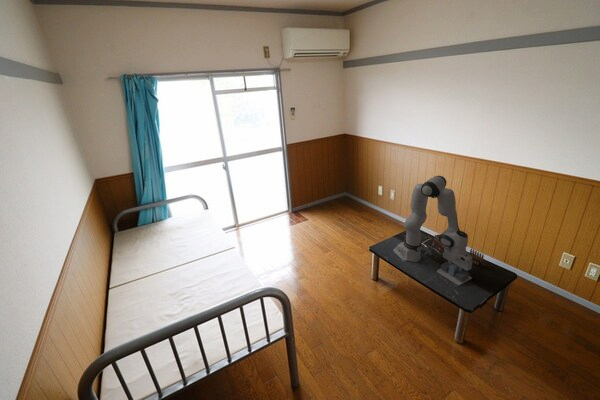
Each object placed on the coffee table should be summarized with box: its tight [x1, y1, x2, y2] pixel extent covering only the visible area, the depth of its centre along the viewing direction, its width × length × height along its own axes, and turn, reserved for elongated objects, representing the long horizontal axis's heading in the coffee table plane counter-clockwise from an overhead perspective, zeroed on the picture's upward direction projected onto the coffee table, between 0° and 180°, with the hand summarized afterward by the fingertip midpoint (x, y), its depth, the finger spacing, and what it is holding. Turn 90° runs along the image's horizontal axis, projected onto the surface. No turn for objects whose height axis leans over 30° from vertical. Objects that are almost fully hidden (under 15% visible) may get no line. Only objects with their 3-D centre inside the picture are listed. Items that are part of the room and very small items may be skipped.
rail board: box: [436, 260, 473, 287], centre depth 205 cm, size 18×14×6 cm
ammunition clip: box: [468, 247, 485, 269], centre depth 213 cm, size 11×2×12 cm, turn 28°
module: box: [448, 263, 460, 276], centre depth 204 cm, size 4×8×7 cm, turn 117°
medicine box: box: [433, 233, 452, 252], centre depth 237 cm, size 15×8×8 cm, turn 10°
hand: (455, 268), depth 204 cm, fingers open, 5 cm apart
